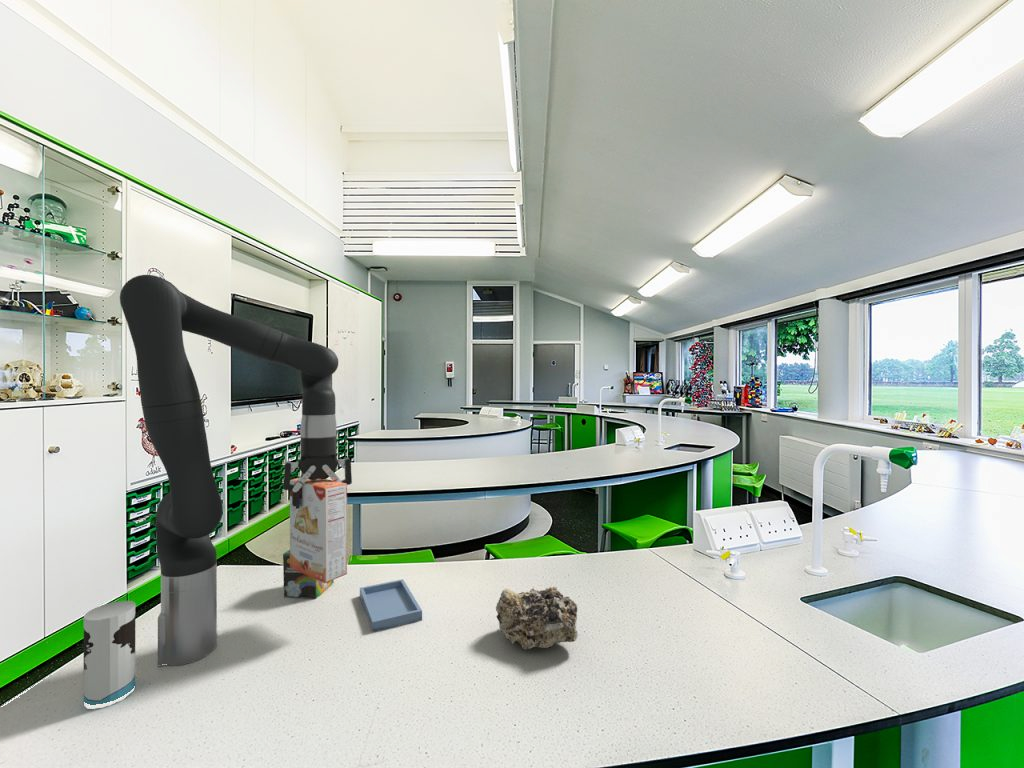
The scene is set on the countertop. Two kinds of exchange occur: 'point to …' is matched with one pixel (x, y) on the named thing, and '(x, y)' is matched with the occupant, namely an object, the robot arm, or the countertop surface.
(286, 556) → the chalk box
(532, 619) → the mineral specimen
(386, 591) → the tray
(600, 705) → the countertop surface
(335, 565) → the cracker box
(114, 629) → the white cylindrical canister
